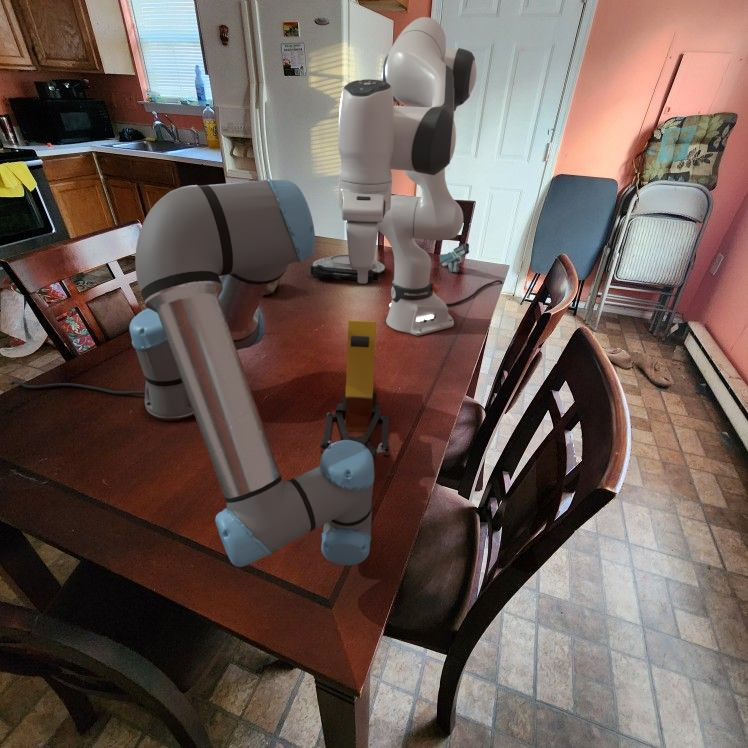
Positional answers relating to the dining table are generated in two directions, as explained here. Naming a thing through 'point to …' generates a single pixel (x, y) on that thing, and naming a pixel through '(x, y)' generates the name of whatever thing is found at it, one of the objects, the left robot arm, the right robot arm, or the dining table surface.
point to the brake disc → (342, 269)
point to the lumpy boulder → (272, 287)
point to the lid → (360, 358)
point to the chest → (358, 413)
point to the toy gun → (455, 257)
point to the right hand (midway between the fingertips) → (363, 274)
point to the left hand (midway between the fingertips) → (360, 397)
